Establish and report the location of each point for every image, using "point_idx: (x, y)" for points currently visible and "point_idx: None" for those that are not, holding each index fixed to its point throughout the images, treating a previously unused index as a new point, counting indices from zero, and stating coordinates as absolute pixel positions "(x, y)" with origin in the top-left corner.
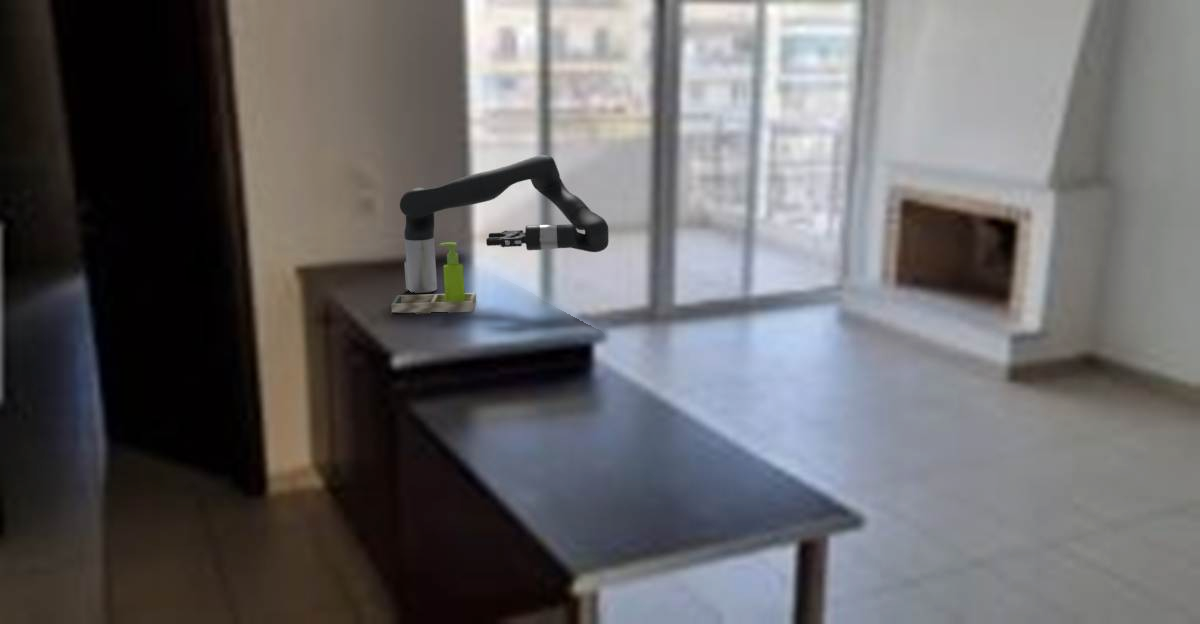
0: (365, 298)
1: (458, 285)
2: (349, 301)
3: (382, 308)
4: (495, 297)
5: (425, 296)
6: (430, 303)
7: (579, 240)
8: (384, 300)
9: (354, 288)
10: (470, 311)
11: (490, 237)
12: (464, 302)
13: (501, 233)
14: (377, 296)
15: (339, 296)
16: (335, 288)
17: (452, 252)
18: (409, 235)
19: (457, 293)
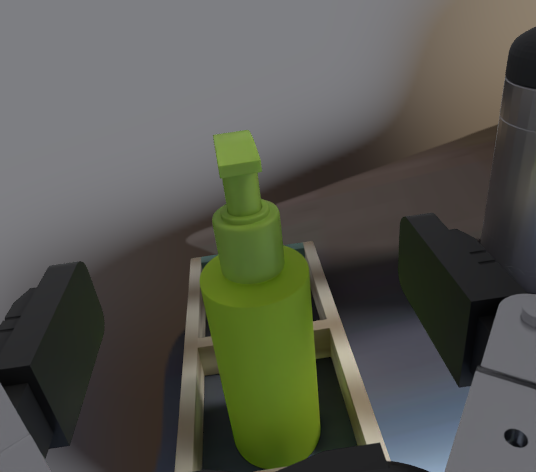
0: (379, 200)
1: (223, 375)
2: (343, 190)
3: None
4: None
5: (319, 300)
6: (185, 341)
7: None
8: (365, 231)
9: (475, 164)
10: None
11: (406, 262)
12: (175, 463)
13: (501, 313)
14: (407, 210)
15: (388, 168)
16: (461, 147)
17: (228, 207)
18: (508, 55)
19: (226, 398)
